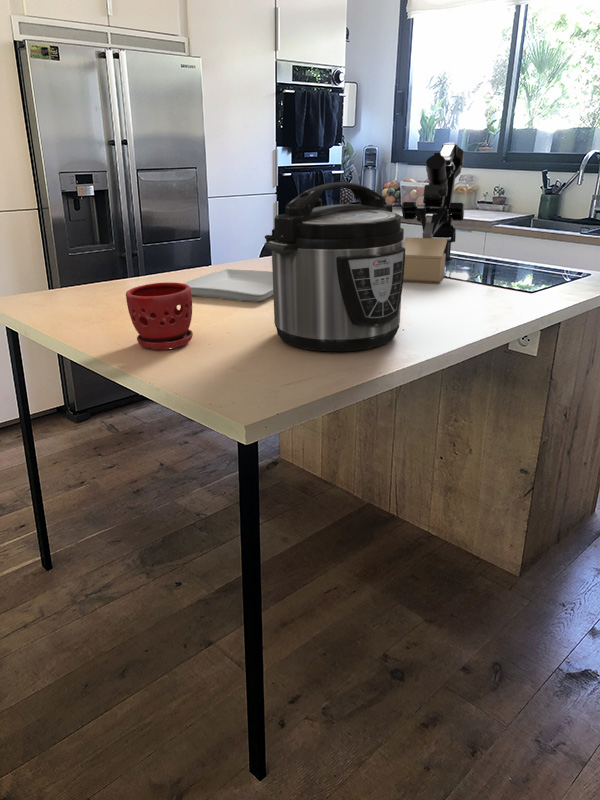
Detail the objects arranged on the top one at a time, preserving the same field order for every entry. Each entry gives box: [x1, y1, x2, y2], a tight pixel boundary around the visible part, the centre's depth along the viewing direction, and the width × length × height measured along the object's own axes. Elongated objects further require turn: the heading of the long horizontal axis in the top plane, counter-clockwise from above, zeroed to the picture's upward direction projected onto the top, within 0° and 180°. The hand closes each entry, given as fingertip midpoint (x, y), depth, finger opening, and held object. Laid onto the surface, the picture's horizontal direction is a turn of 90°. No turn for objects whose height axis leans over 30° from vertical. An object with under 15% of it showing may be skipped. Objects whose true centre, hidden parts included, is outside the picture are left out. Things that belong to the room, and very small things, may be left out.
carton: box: [403, 254, 446, 285], centre depth 192 cm, size 10×12×7 cm
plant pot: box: [125, 281, 194, 350], centre depth 133 cm, size 13×13×12 cm
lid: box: [403, 222, 448, 259], centre depth 192 cm, size 17×12×3 cm
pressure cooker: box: [264, 181, 405, 352], centre depth 132 cm, size 30×28×32 cm
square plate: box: [182, 268, 273, 303], centre depth 182 cm, size 27×27×4 cm
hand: (428, 233), depth 195 cm, fingers closed on lid, 2 cm apart
